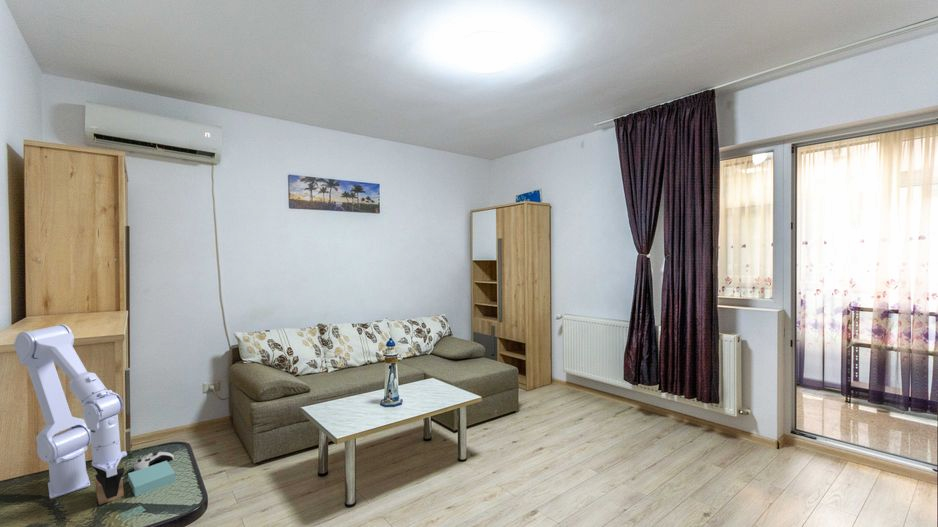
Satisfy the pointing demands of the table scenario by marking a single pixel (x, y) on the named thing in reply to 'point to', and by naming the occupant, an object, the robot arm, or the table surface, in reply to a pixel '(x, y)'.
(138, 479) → the teal box
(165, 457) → the game controller
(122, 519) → the table surface
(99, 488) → the walnut cube
